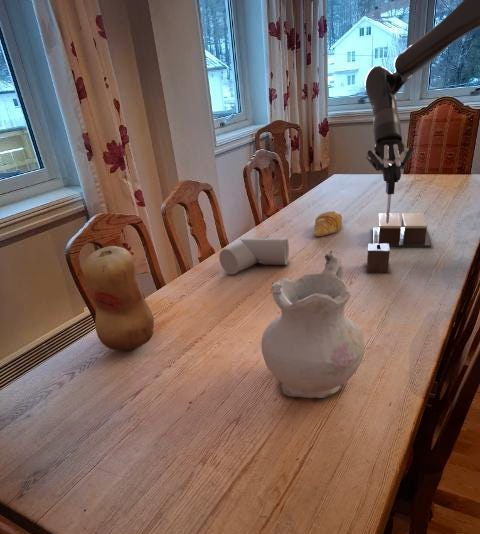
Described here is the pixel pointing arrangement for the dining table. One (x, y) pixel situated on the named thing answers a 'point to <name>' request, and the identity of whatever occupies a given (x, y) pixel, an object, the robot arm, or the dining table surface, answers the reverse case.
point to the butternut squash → (118, 299)
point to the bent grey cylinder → (254, 254)
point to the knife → (390, 187)
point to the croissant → (327, 223)
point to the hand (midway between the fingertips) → (392, 180)
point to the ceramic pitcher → (313, 334)
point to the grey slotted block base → (402, 230)
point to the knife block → (378, 258)
